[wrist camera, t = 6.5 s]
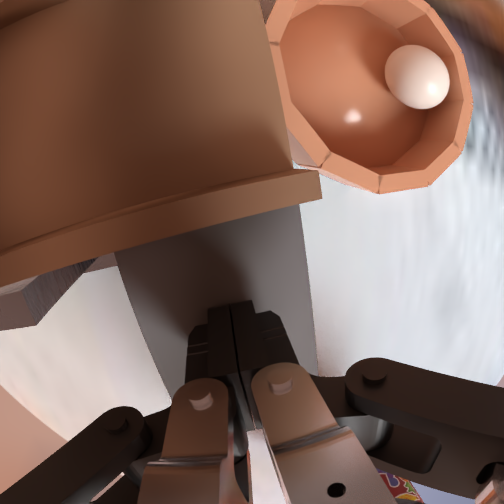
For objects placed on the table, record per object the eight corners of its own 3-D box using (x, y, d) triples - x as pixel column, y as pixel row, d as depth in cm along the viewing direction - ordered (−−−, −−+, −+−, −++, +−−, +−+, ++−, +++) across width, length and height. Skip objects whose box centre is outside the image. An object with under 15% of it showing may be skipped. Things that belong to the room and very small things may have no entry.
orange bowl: (410, 7, 13) (442, -10, 9) (442, 171, 16) (480, 178, 13) (234, 0, 12) (240, -33, 9) (273, 197, 16) (289, 210, 12)
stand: (101, 10, 11) (38, -63, 4) (145, 254, 16) (96, 340, 8) (13, 52, 11) (-74, 21, 3) (54, 276, 15) (-22, 352, 8)
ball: (371, 41, 11) (384, 55, 14) (386, 109, 12) (396, 112, 15) (441, 35, 9) (441, 51, 12) (457, 106, 10) (453, 110, 13)
